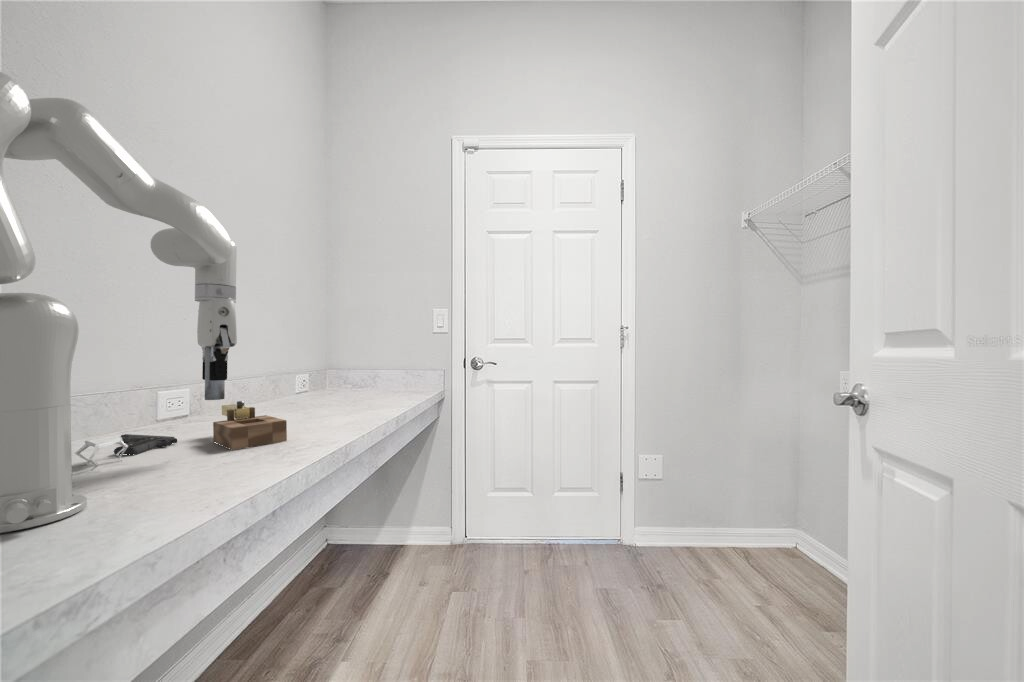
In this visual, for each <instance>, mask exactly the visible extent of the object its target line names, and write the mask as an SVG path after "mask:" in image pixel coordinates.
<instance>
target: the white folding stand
mask: <svg viewBox="0 0 1024 682" xmlns="http://www.w3.org/2000/svg"><path fill="white" fill-rule="evenodd" d="M117 443H118V444H119V445H120V446H122V447H123V449H121V450H120V451H119V452H118V453H117V454H115V456H116V457H117V458H118V459H119V460H120V461H121V460H123V459H122V456H124V455H123V453H124V452H125V450H126V449H127V448H128V445H127V443H124V442H123V441H122V438H121V436H119V434H113V435H109V436H105V437H100V438H94V439H89V440H84V445H83V446H81V447H80V448H79V449H78V450H76V452H74V454H75V455H76V456H78V457H79V458H81V459H83V460H85V462H84V463H82V464H81V466H85V465H87V464H90V463H91V464H92V465H94V467H92V468H91V469H90V470H91V471H93V469H94V470H95V469H96V468H97V467H98V466H99V465H98V464H97V463H96V462H95V461H94V460H93V458H94V457H95V455H96V454H97V453H98V451H99V450H100V449H101V448H104V447H108V446H111V445H115V444H117ZM90 447H93V448H95V449H94V451H93V453H92V454H91V455H90V457H89V458H87V457H85V456H84V455H82V454H81V453H83V452H84V451H85V450H87V449H88V448H90ZM122 451H123V452H122ZM120 452H122V454H121V455H118V454H119V453H120Z"/></svg>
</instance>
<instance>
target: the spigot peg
mask: <svg viewBox="0 0 1024 682" xmlns="http://www.w3.org/2000/svg"><path fill="white" fill-rule="evenodd" d="M215 346H221V344H218V343H215ZM216 352H217V350H216ZM210 362H212V360H211V347H208V346H205V380H204V400H205V401H218V400H225V395H226V394H225V391H226V390H225V388H226V387H225V386H226V385H225V384H226V380H217V381H211V380H209V366H210Z"/></svg>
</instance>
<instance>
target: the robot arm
mask: <svg viewBox="0 0 1024 682" xmlns="http://www.w3.org/2000/svg"><path fill="white" fill-rule="evenodd" d="M4 159H12V160H18V161H47V160H49V161H50V160H56V161H58V162H60V163H61V165H63V166H64V167H65V168H66V169H67V170H69V171H70V172H71V173H72V174H73V175H74V176H75V177H76V178H77V179H78V180H80V181H81V182H82V183H83V184H84V185H85V186H86V187H88V188H89V190H91V191H92V192H93V193H94V194H95V195H96V196H98V197H99V199H100V200H101V201H103V202H104V203H105V204H106V205H108V206H110V207H112V208H115V209H117V210H120V211H123V212H126V213H129V214H133V215H135V216H140V217H144V218H149V219H151V220H155V221H158V222H161V223H163V224H165V225H169V226H171V228H165V229H161V230H159V231H157V232H155V233H154V234H153V236H152V238H151V239H150V250H151V252H152V254H153V256H155V257H156V259H158V260H159V261H160V262H161V263H164V264H167V265H170V266H174V267H187V268H193V269H194V301H195V302H197V303H199V304H198V309H197V310H198V311H197V312H198V315H197V328H196V329H197V330H196V331H197V344H198V346H200V347H201V350H202V372H201V373H202V377H201V378H202V380H204V381H205V346H208V347H211V360H212V362H210V366H209V380H211V381H217V380H225V381H226V380H228V360H229V354H228V353H229V350H230V348H233V347H235V346H236V345H237V343H238V342H237V341H238V337H237V336H238V335H237V333H238V332H237V314H236V307H235V304H236V303H237V251H238V250H237V246H236V243H235V242H234V240H232V239H231V236H230V235H229V233H228V232H227V230H226V229H225V227H224V226H223V225H222V223H220V222H219V220H218V219H217V218H216V217H215V216H214V214H213V213H212V212H210V210H209V209H207V208H206V207H205V206H204V205H203V204H201V203H200V202H198V201H197V200H195V198H192V197H191V196H189V195H187V194H186V193H183V192H182V191H180V190H179V189H176V188H175V187H173V186H172V185H169V184H167V183H165V182H163V181H161V180H159V179H158V178H155V177H154V176H152V175H151V174H150V173H149V172H148V171H147V170H146V168H144V167H143V166H142V164H141V163H140V162H139V161H138V160H137V159H135V157H134V156H133V155H132V154H131V153H130V152H129V151H128V150H127V149H126V147H124V145H123V144H122V143H120V141H119V140H118V139H117V138H116V137H115V136H114V134H112V133H111V131H110V130H109V129H108V128H107V127H106V126H105V125H104V124H103V123H102V122H101V120H100V119H99V118H97V116H96V115H94V114H93V112H91V111H90V110H89V108H87V107H86V106H84V105H82V103H80V102H77V101H75V100H72V99H69V98H64V97H63V98H62V97H40V98H29V97H28V94H27V92H26V91H25V89H24V88H23V87H22V86H21V84H20V83H19V82H17V80H16V79H13V77H11V76H10V75H8V74H6V73H4V72H2V71H0V285H6V284H7V285H8V284H13V283H16V282H20V281H22V280H25V279H26V278H28V277H29V276H30V275H31V274H32V273H33V272H34V270H35V268H36V267H35V266H36V256H35V252H34V249H33V246H32V244H31V241H30V238H29V236H28V234H27V231H26V230H25V226H24V224H23V223H22V219H21V217H20V215H19V213H18V210H17V207H16V206H15V203H14V202H13V199H12V196H11V194H10V191H9V189H8V186H7V182H6V180H5V175H4V169H3V168H4V167H3V164H4ZM79 329H80V328H79V322H78V319H77V317H76V315H75V313H74V311H72V309H71V308H70V307H69V306H68V305H66V304H65V303H64V302H62V301H61V300H59V299H57V298H55V297H52V296H49V295H44V294H40V293H33V292H0V534H2V533H3V534H4V533H10V532H14V531H15V532H16V531H21V530H26V529H30V528H35V527H38V526H39V527H40V526H42V525H46V524H50V523H53V522H56V521H60V520H62V519H66V518H68V517H71V516H74V515H75V514H77V513H79V512H81V511H82V510H84V509H85V507H87V505H88V499H87V497H86V496H84V495H82V494H76V493H75V494H74V493H73V465H72V463H73V462H72V461H73V460H72V456H73V455H72V417H71V415H72V410H71V407H72V406H71V405H72V404H71V380H72V376H71V375H72V368H73V367H72V366H73V360H74V357H75V356H74V355H75V351H76V349H77V344H78V339H79V332H80V331H79ZM215 343H218V344H221V346H215ZM216 350H217V352H216Z"/></svg>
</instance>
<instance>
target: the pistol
mask: <svg viewBox="0 0 1024 682" xmlns="http://www.w3.org/2000/svg"><path fill="white" fill-rule="evenodd" d="M120 437H121V438H122V441H123V442H125V444H126V445H128V448H127V449H126V450H125V452H124V453H123V454H127V455H126V456H134V455H133V454H136V455H139V454H142V453H145V452H147V450H148V451H150V449H151V450H153V449H152V448H154V449H156V448H155V447H159V448H163V447H162V446H165V447H168V446H171V444H172V443H174V444H178V439H177V438H176V437H175V436H166V435H149V434H147V435H146V434H131V433H130V434H129V433H125V434H121V436H120ZM128 443H129V444H128ZM121 449H123V447H122V446H121V445H120V446H117V447H115V448H114V449H113V454H114V455H116V454H117V453H118V452H119V451H120V450H121ZM144 451H145V452H144ZM122 452H123V451H122ZM122 452H120V453H119V454H122ZM141 452H142V453H141ZM138 453H139V454H138ZM129 454H130V455H129Z"/></svg>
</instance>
